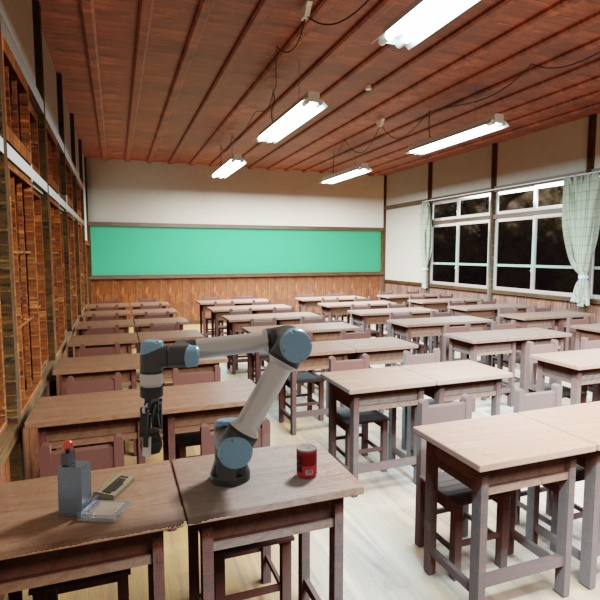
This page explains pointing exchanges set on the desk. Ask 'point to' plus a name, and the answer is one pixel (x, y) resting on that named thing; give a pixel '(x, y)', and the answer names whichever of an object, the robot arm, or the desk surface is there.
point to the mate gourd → (154, 441)
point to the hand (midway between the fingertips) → (151, 451)
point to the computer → (113, 486)
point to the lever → (67, 453)
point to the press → (84, 495)
